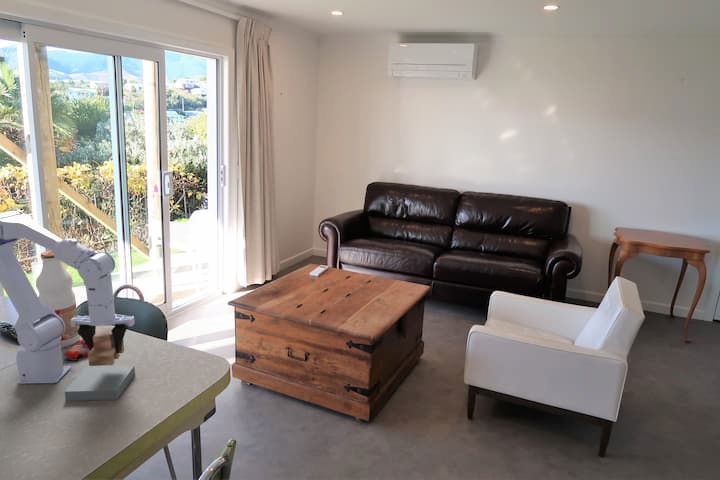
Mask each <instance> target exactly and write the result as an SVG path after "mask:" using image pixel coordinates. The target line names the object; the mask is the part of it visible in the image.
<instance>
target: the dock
mask: <svg viewBox="0 0 720 480" xmlns="http://www.w3.org/2000/svg"><path fill="white" fill-rule="evenodd" d="M135 375H136V370H135V365H115V366H114V365H104V366H86V367H85V368H84V369H83V371H82V372H81V373H80V374H79V375H78V376H77V377H76V378H75V380H73V382H71V383H70V385H69V386H68V387H67V388H65V390H64V399H65V401H66V402H67V401H68V402H71V401H73V402H74V401H76V402H77V401H114V400H115V401H116V400H119V398H120V397H121V395H122V394H123V392H125V390H126V388H127V387H128V385H129V384H130V383H131V381H132V379H133V378H134V376H135Z"/></svg>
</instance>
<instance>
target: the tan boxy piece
mask: <svg viewBox="0 0 720 480" xmlns="http://www.w3.org/2000/svg"><path fill="white" fill-rule="evenodd" d="M124 352H125V345H124V341H123V342H122V350H121V351H120V352H119V353H116V351H115V345H114V346H113V348H112V349H104V350H94V347H93V348H92V349H91V350H90V351H89V352H88V356H87V357H88V358H87V359H88V367H96V366H114V364H115V360H118V359H119V358H120V354H123V353H124Z"/></svg>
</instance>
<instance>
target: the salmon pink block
mask: <svg viewBox="0 0 720 480" xmlns="http://www.w3.org/2000/svg"><path fill="white" fill-rule="evenodd" d="M113 328H114V327H112V328H110V327H108V328H107V327H106V328H105V327H104V328H100V329H99V330H98V331H96V332H95V335H94V336H93V343H94V350H104V349H112V348H113V346H114V345H115V342H114V338H113V334H112V332H111V330H112V329H113Z"/></svg>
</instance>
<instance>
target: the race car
mask: <svg viewBox="0 0 720 480" xmlns="http://www.w3.org/2000/svg"><path fill="white" fill-rule="evenodd" d="M88 352H89V348H88V346H87V344H86V343H85V341H84V340H83V338H81V339H80V340H79V341H78V342H76V343H75V344H74V345H72V346H71V347H69V348H68V349H66V350H65V352H64V359H65V360H67V361H81V360H82V359H84V358H85V357H88Z"/></svg>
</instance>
